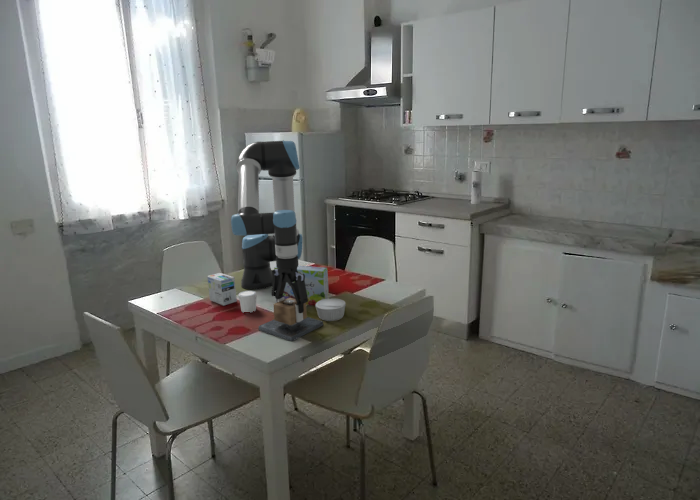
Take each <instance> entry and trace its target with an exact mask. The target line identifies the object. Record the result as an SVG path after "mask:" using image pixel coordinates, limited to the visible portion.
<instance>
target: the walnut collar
mask: <svg viewBox="0 0 700 500" xmlns="http://www.w3.org/2000/svg"><path fill="white" fill-rule="evenodd" d="M288 299H290V300H294V301H295V303H296V304H297V302H296V299H293V298H287V299H285V300H282V301H280V302H277V301H276V302H275V303H273V316H274V317H273V318H274V319H273V320H275V321H279V322H282V323H285V324H288V325H293V324H295V323H297V322H296V308H295V304H294V305H291V306H290V305H286V304H284V301H286V300H288ZM307 314H308V313H307V305H306V303H304V312H303V319H306V318H307V317H308V315H307Z"/></svg>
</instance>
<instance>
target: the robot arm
mask: <svg viewBox="0 0 700 500" xmlns="http://www.w3.org/2000/svg"><path fill="white" fill-rule="evenodd" d="M299 161H300V160H299V157H298V151H297V146H296V143H295V142H294V141H291V140H284V139H283V140H271V141H268V140H267V141H254V142H252V143H250V144H249V145H247V146H246V147H244V149H243V150H242V151H241V152H240V154H239V155H238V158H237V159H236V164H235V166H236V172H237V173H238V189H237V191H238V192H237V193H238V194H237V197H238V198H237V213H236V214H232V215H231V219H230V220H231V221H230V223H231V224H230V225H231V232H232V234H233V236H244V237H243V238H242V241H241V249H242V259H243V260H242V262H243V273H242V278H241V282H240V284H241V287H242V288H243V289H247V290H265V289H267V288H271V296H272V297H274V298H275V299H276V300H275V301H276V303H277V302H280V301H282V300H284V298H283V293H284V289H285V286H286V282H287V283H289V286H291V288H292V291H293V294H294V296H295V299H296V302H297V304H295V308H296V322H300V321H302V320H303V312H304V303H306V302H308V297H307V291H306V286H305V275H304V274H302V275H301V274H299V273H298V271H297V267H298V266H299V260H300V259H301V257H302V253H303V238H304V237H303V234H301V233H300V231H299V229H298V228H297V218H296V216H297V215H296V212H295V194H294V192H295V191H294V177H295V176H296V175H297V170H300V168H301V167H300V162H299ZM262 171H266V172H267V171H268V173H267V174H268V176H269V177H271V180H272V191H273V192H272V193H273V202H274V203H273V204H274V205H273V206H274V212H260V189H259V188H260V187H259V186H260V184H259V181H260V180H259V179H260V178H259V175H260V173H261V172H262ZM271 262H275V265H276V266H277V269H272V268H271ZM276 266H275V267H276ZM294 281H295V282H294ZM292 282H294V283H292Z"/></svg>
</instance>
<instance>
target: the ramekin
mask: <svg viewBox="0 0 700 500" xmlns="http://www.w3.org/2000/svg"><path fill="white" fill-rule="evenodd" d="M345 308H346V301H345V300H343V299H340V298H336V297H335V298H330V297H329V299H323V300H320V301H318V302H317V303H316V306H315V309H316V313H317V316H318V318H319V319H320V320H321V321H324V322H332V321H333V322H335V321H338V320H340V319H342V318H344V315H345Z"/></svg>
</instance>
